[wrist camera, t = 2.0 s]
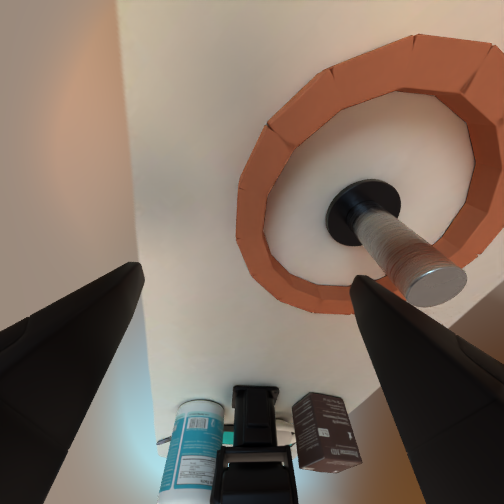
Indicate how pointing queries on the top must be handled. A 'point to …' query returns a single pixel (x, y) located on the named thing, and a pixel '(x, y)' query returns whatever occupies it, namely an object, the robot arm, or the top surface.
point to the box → (324, 434)
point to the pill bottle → (192, 454)
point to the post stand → (393, 243)
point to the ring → (363, 89)
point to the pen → (163, 441)
